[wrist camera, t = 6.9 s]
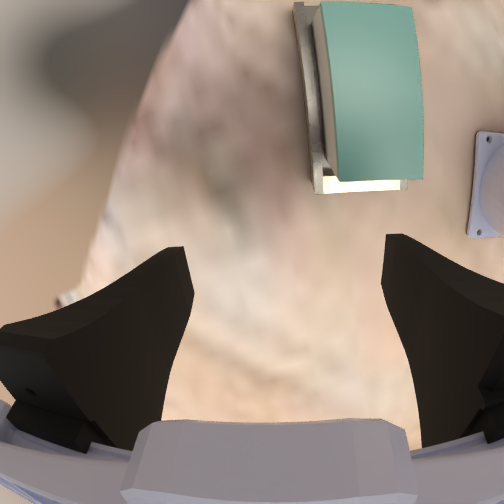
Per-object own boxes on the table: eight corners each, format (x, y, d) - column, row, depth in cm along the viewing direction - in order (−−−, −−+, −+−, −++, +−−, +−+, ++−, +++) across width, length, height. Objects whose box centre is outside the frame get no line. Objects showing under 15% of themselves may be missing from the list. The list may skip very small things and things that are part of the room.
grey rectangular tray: (383, 12, 14) (395, 4, 12) (395, 178, 19) (407, 189, 17) (292, 11, 15) (293, 2, 13) (311, 183, 20) (315, 194, 18)
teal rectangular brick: (379, 25, 14) (411, 7, 9) (390, 155, 17) (422, 179, 13) (310, 24, 14) (321, 1, 10) (325, 158, 18) (339, 182, 13)
